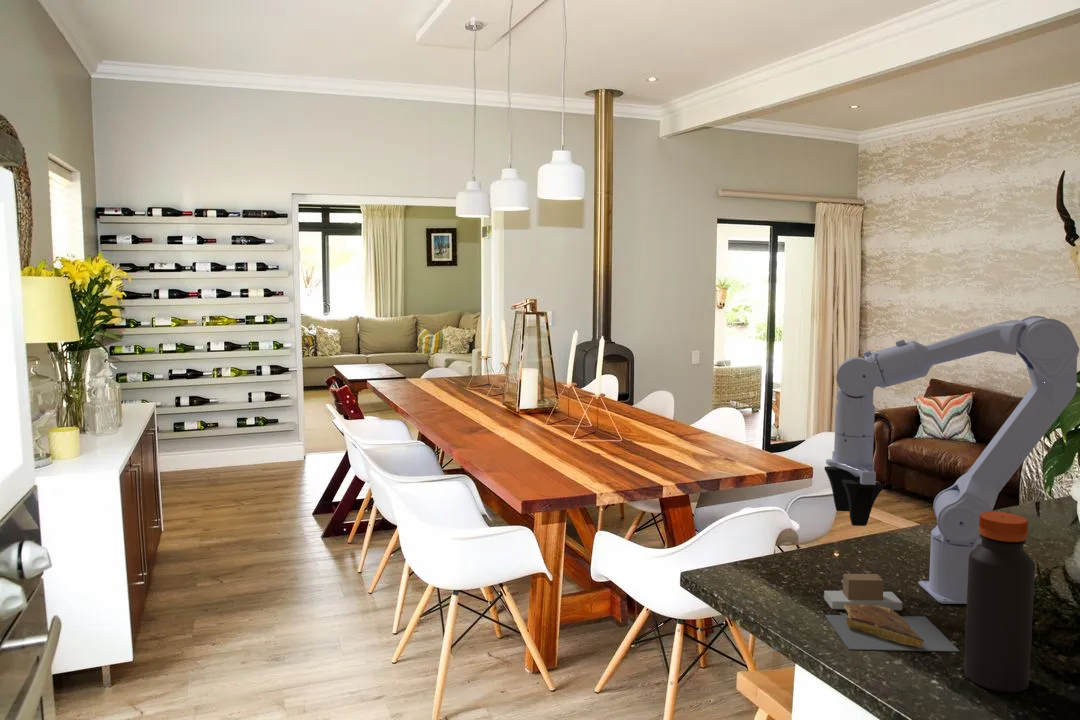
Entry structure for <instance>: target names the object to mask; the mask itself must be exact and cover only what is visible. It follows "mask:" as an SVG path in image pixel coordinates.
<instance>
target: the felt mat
mask: <svg viewBox="0 0 1080 720" xmlns="http://www.w3.org/2000/svg"><path fill="white" fill-rule="evenodd" d="M824 616H825V618H826V619H827V621H828V622H829V624H830V626H832V628H833V630H835V632H836V633H837V634H838V636H839V638H840V639H841V640H842V642H843V644H844V645H845V647H846V648H847V649H848V650H849V651H852V650H854V651H888V652H889V651H897V652H898V651H900V652H902V651H903V652H939V653H940V652H943V653H944V652H945V653H947V652H948V653H953V652H954V653H955V652H956V653H960V652H961V651H960V650H959V649H958V647H956V646H955V644H953V643H952V642H951V641H950V640H949V638H947V636H946V635H944V634H943V633H942V632H941V631H940V630H939V629H938V627H936V625H934V624H933V623H932V622H931V620H929V619H928V618H927V617H926V616H917V615H915V616H910V615H908V616H907V615H905V616H904V615H902V616H901V615H900V617H901V618H903V619H904V620H905V622H906V623H907V624H908V625H909V626H910V627H911V629H912V630H913V631H914V632H915V633H916V634H918V635H919V637H920V638H921V639H923V640H924V642H923V643H922V647H921V648H918V647H915V646H911V645H904V644H900V643H897V642H894V641H891V640H886V639H883V638H880V637H878V636H876V635H873V634H870V633H865V632H863V631H861V630H856V629H851V628H850V627H848V625H847V619H848V615H847V614H845V615H844V614H843V615H842V614H825V615H824Z"/></svg>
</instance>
